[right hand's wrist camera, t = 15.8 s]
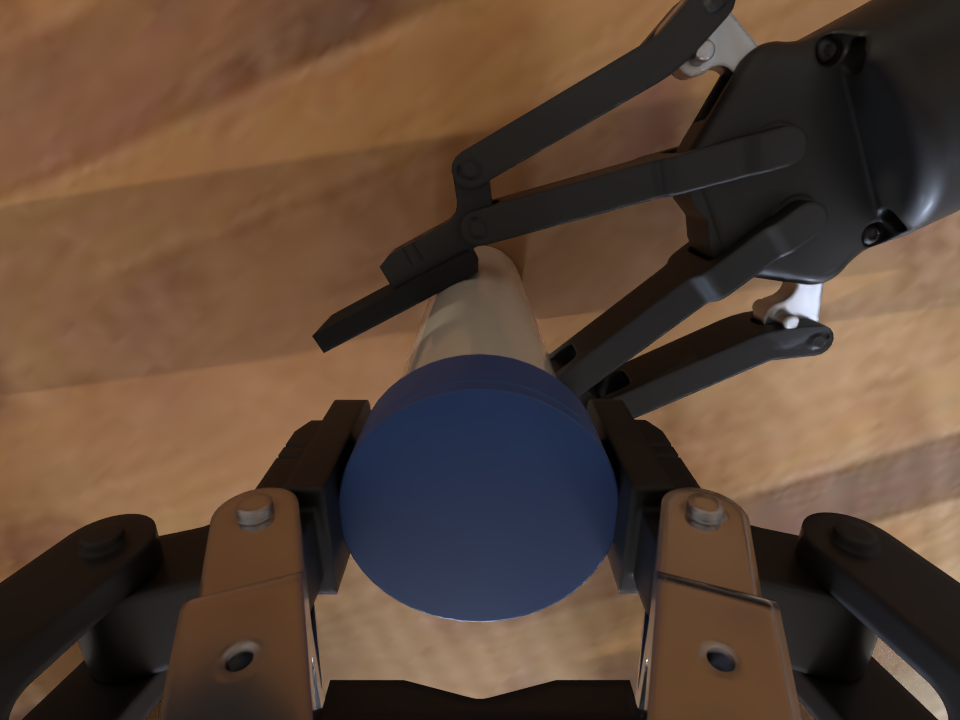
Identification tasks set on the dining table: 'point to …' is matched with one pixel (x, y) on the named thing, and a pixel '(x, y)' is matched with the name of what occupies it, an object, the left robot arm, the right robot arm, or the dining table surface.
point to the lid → (478, 490)
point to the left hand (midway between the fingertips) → (364, 384)
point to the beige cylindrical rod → (481, 318)
